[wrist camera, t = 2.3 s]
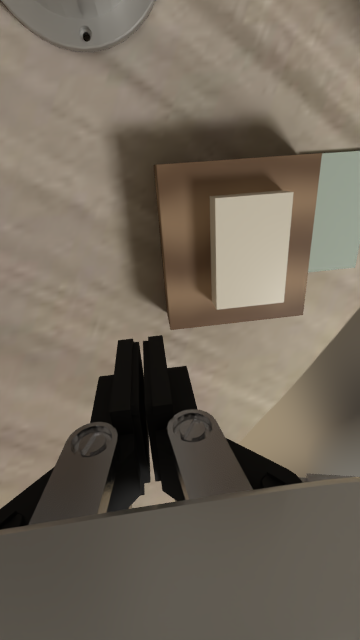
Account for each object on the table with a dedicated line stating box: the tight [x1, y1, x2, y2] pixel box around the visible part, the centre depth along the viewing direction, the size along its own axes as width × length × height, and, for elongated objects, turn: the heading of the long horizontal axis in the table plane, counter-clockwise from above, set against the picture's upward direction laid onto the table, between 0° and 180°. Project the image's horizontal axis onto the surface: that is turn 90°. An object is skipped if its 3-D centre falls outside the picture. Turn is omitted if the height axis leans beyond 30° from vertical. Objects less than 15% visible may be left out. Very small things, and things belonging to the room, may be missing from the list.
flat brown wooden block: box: [154, 153, 322, 330], centre depth 29 cm, size 14×13×4 cm
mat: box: [308, 151, 360, 272], centre depth 31 cm, size 11×7×1 cm, turn 3°
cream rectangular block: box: [210, 190, 294, 310], centre depth 26 cm, size 9×6×2 cm, turn 3°
